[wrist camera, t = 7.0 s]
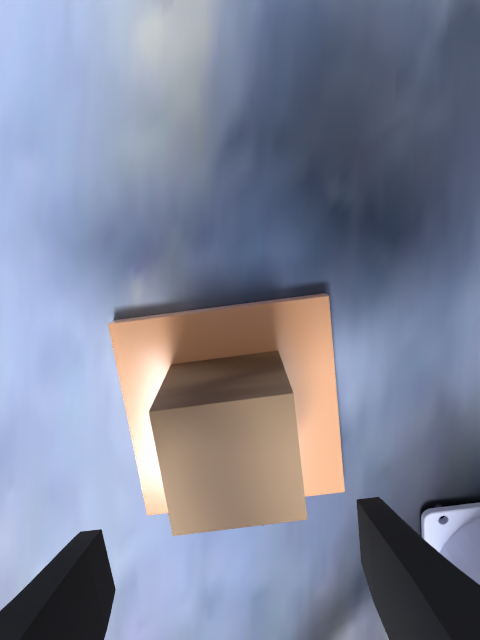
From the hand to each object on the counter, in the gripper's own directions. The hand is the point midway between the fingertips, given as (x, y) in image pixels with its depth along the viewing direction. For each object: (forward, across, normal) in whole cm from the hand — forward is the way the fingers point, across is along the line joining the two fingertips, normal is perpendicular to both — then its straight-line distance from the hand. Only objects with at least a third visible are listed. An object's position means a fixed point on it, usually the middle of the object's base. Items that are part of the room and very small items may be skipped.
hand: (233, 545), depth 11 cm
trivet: (+9, 0, 0) cm, 9 cm away
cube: (+8, 0, 0) cm, 8 cm away
